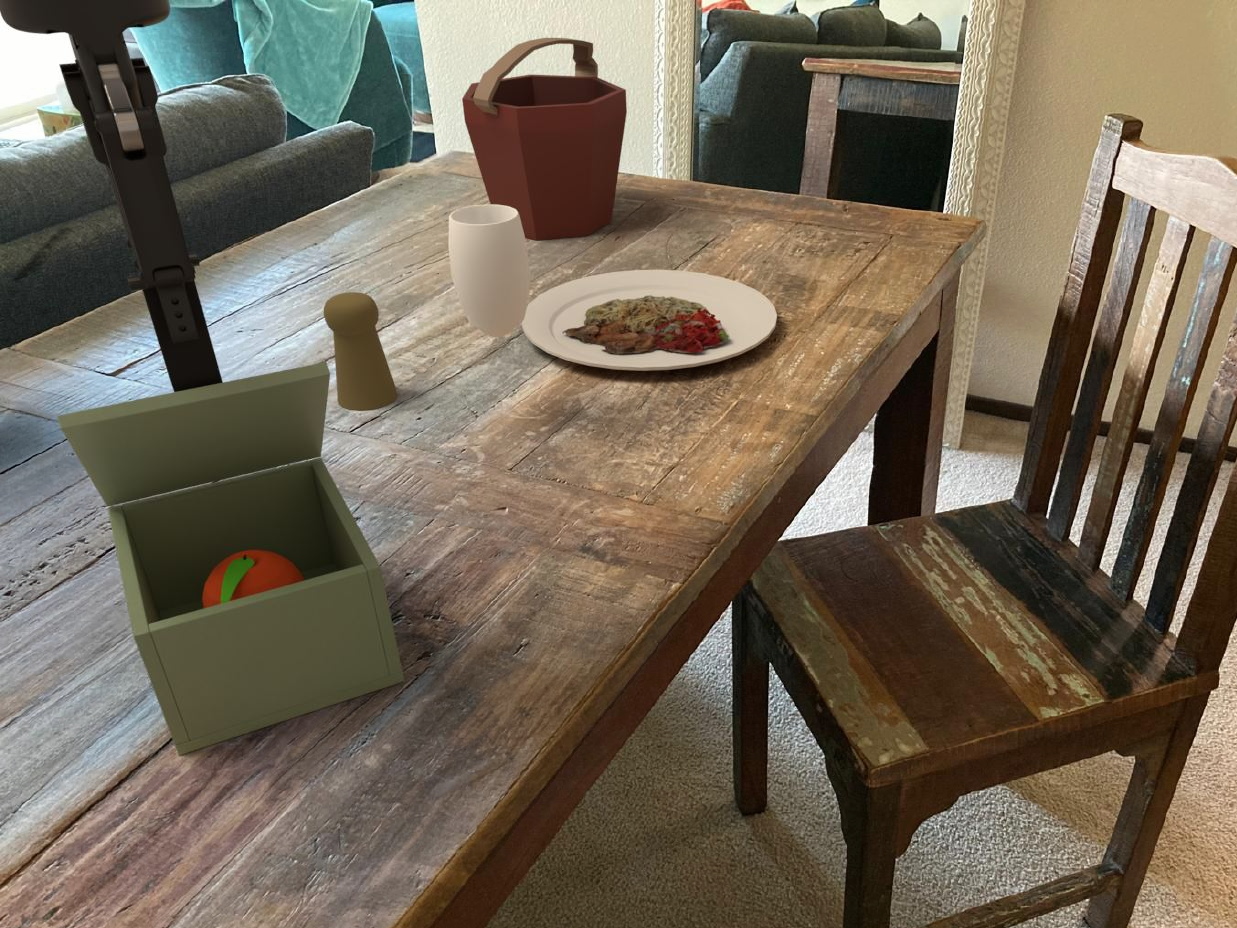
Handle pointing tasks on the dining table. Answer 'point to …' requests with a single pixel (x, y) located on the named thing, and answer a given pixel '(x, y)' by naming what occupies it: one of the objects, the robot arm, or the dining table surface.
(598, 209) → the bucket
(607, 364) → the plated food
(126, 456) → the lid
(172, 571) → the chest
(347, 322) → the cork
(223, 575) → the clementine
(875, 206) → the dining table surface
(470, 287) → the cup
